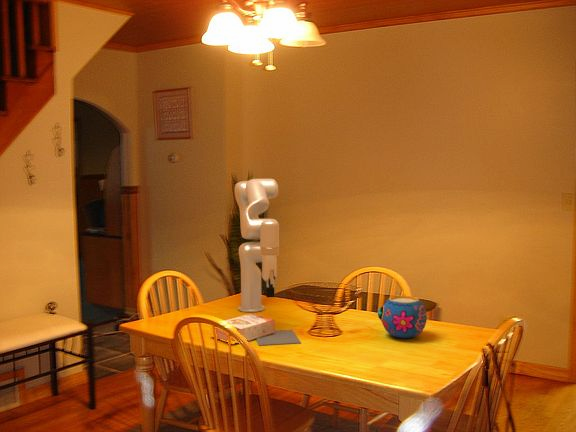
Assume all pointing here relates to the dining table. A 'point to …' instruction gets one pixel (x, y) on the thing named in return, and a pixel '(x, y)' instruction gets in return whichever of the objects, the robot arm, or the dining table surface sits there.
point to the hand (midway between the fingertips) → (270, 296)
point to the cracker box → (249, 327)
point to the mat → (279, 338)
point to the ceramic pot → (403, 316)
